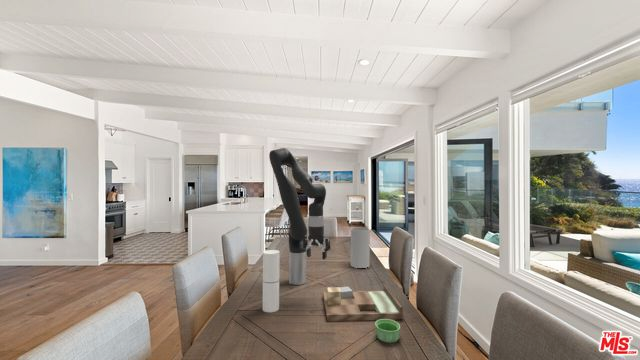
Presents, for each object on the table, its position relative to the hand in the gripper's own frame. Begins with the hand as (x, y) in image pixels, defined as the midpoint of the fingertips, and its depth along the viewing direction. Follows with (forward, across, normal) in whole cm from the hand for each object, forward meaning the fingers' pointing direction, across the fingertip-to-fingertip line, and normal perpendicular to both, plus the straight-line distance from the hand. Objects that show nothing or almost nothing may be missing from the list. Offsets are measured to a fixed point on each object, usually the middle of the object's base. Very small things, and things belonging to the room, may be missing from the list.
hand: (316, 257), depth 135 cm
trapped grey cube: (+19, +13, +3) cm, 24 cm away
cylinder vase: (+21, -1, +57) cm, 61 cm away
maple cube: (+16, +12, -6) cm, 21 cm away
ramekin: (+19, +40, -16) cm, 47 cm away
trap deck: (+19, +21, 0) cm, 29 cm away
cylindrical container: (+19, -11, -21) cm, 30 cm away
